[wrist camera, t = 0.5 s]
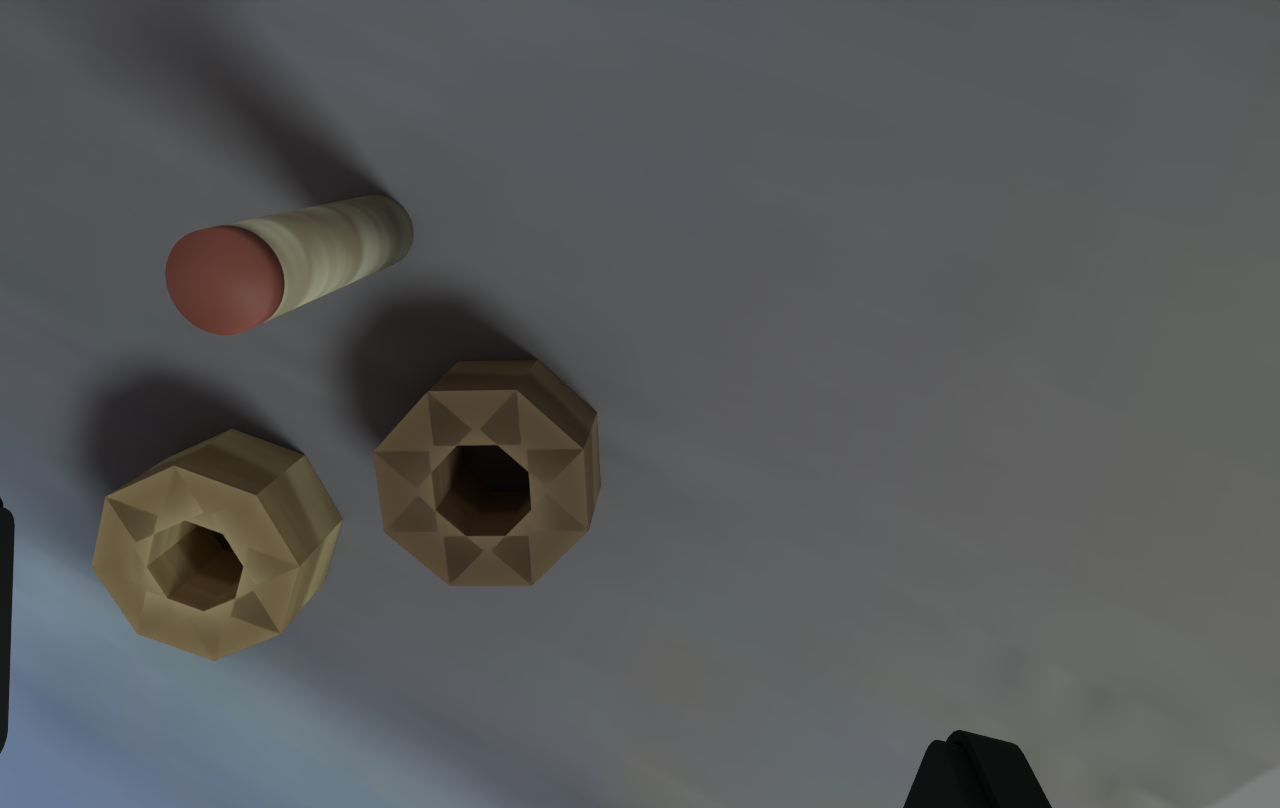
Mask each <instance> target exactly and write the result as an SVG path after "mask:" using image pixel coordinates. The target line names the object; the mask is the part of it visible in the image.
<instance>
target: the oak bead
mask: <svg viewBox="0 0 1280 808" xmlns="http://www.w3.org/2000/svg"><path fill="white" fill-rule="evenodd" d="M342 520H343V519H342V518H341V516H340V514H339V512H338V511H337V509H336V507H335V506H334V504H333V502H332V501H331V499H330V497H329V495H328V494H327V492H326V490H325V489H324V487H323V485H322V484H321V482H320V480H319V479H318V477H317V475H316V473H315V472H314V470H313V468H312V467H311V465H310V463H309V462H308V460H307V458H306V456H305V455H303V454H301V453H298V452H295V451H292V450H290V449H287V448H284V447H281V446H279V445H276V444H273V443H270V442H268V441H265V440H262V439H259V438H257V437H254V436H251V435H249V434H246V433H243V432H240V431H238V430H235V429H229V430H227V431H225V432H223V433H221V434H218V435H216V436H214V437H212V438H210V439H207V440H205V441H203V442H201V443H199V444H196V445H194V446H192V447H190V448H188V449H185V450H183V451H181V452H179V453H177V454H174V455H172V456H170V457H168V458H167V459H165V460H163V461H162V462H160V463H159V464H157V465H155V466H154V467H152V468H151V469H149V470H147V471H146V472H144V473H142V474H141V475H139V476H138V477H136V478H134V479H133V480H131V481H130V482H128V483H126V484H125V485H123V486H122V487H120V488H118V489H117V490H115V491H114V492H112V493H110V494H109V495H107V496H106V497H105V501H104V506H103V512H102V517H101V522H100V527H99V532H98V537H97V542H96V547H95V553H94V558H93V563H92V568H93V570H94V571H95V573H96V574H97V576H98V577H99V578H100V580H101V581H102V583H103V584H104V586H105V587H106V589H107V590H108V592H109V593H110V595H111V596H112V598H113V599H114V600H115V602H116V603H117V605H118V606H119V608H120V609H121V611H122V612H123V614H124V615H125V617H126V618H127V620H128V621H129V622H130V624H131V625H132V627H133V628H134V630H135V631H136V633H137V634H139V635H142V636H145V637H148V638H151V639H154V640H156V641H159V642H162V643H165V644H168V645H171V646H174V647H176V648H179V649H182V650H185V651H188V652H191V653H193V654H196V655H199V656H202V657H205V658H208V659H210V660H213V661H215V660H217V659H220V658H222V657H225V656H227V655H230V654H232V653H235V652H237V651H240V650H242V649H245V648H247V647H250V646H252V645H255V644H257V643H260V642H262V641H265V640H267V639H270V638H272V637H275V636H277V635H280V634H281V633H282V632H283V631H284V630H285V628H286V627H287V626H288V625H289V624H290V622H291V621H292V620H293V619H294V618H295V616H296V615H297V614H298V613H299V611H300V610H301V609H302V608H303V607H304V605H305V604H306V603H307V602H308V601H309V599H310V598H311V597H312V596H313V594H314V593H315V592H316V591H317V590H318V588H319V587H320V586H321V585H322V584H323V582H324V581H325V578H326V574H327V571H328V567H329V564H330V561H331V557H332V554H333V550H334V547H335V543H336V540H337V537H338V533H339V530H340V526H341V523H342ZM212 530H213V531H216V532H219V533H222V534H223V535H224V537H225V538H226V540H227V541H228V543H229V544H230V546H231V548H232V549H233V551H234V552H235V553H233V552H230V551H228V550H225V549H223V548H222V546H221V545H220V543H219V541H218V540H217V538H216V537H215V535H214V534H213V532H212Z"/></svg>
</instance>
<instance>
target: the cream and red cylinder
mask: <svg viewBox="0 0 1280 808" xmlns="http://www.w3.org/2000/svg"><path fill="white" fill-rule="evenodd" d="M412 241H413V226H412V222H411V219H410V217H409V215H408V213H407V212H406V210H405V209H404V208H403V207H402V206H401V205H400V204H399V203H398V202H397V201H395V200H393V199H392V198H389V197H387V196H384V195H379V194H372V195H366V196H361V197H356V198H351V199H347V200H342V201H337V202H332V203H327V204H322V205H318V206H313V207H308V208H303V209H298V210H293V211H289V212H284V213H279V214H274V215H269V216H264V217H260V218H255V219H250V220H245V221H240V222H235V223H231V224H226V225H221V226H216V227H211V228H206V229H202V230H197V231H194V232H192V233H189V234H187V235H186V236H184V237H183V238H182V239H180V240H179V241H178V242H177V243H176V245H175V246H174V247H173V249H172V250H171V252H170V254H169V257H168V260H167V264H166V284H167V288H168V292H169V294H170V297H171V299H172V301H173V303H174V304H175V306H176V307H177V309H178V310H179V311H180V313H181V314H182V315H183V316H184V317H185V318H186V319H187V320H188V321H190V322H191V323H192V324H194V325H195V326H197V327H198V328H200V329H202V330H205V331H207V332H210V333H214V334H219V335H232V334H237V333H241V332H243V331H246V330H248V329H250V328H253V327H255V326H257V325H259V324H261V323H264V322H266V321H268V320H270V319H273V318H275V317H277V316H279V315H281V314H284V313H286V312H288V311H290V310H293V309H295V308H297V307H299V306H302V305H304V304H306V303H308V302H310V301H313V300H315V299H317V298H319V297H322V296H324V295H326V294H328V293H330V292H333V291H335V290H337V289H339V288H342V287H344V286H346V285H348V284H350V283H353V282H355V281H357V280H359V279H362V278H364V277H366V276H368V275H370V274H373V273H375V272H377V271H379V270H382V269H384V268H386V267H388V266H391V265H393V264H395V263H397V262H399V261H400V260H401V259H403V258H404V257H405V256H406V254H407V253H408V251H409V250H410V248H411V245H412Z"/></svg>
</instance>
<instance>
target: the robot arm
mask: <svg viewBox="0 0 1280 808" xmlns="http://www.w3.org/2000/svg"><path fill="white" fill-rule="evenodd" d="M14 528H15V525H14V517H13V515H12V513H11V512H10V511H9V510H7V509H6V508H3V502H2V500H1V498H0V753H1V751H2V749H3V747H4V744H5V741H6V738H7V732H8V709H9V679H10V649H11V619H12V589H13V559H14ZM903 808H1052V807H1051V805H1050V803H1049V801H1048V799H1047V798H1046V796H1045V794H1044V792H1043V790H1042V788H1041V786H1040V784H1039V782H1038V780H1037V779H1036V777H1035V775H1034V773H1033V771H1032V769H1031V767H1030V765H1029V763H1028V762H1027V760H1026V758H1025V756H1024V754H1023V752H1022V751H1021V750H1020V748H1019V747H1018V746H1017V745H1015V744H1013V743H1010V742H1006V741H1002V740H998V739H994V738H990V737H986V736H982V735H978V734H974V733H970V732H966V731H962V730H957V731H954V732H953V733H952V734H951V735H950V736H949V737H948V739H947V741H946V742H944V741H940V740H935V741H933V742H932V743H931V744H930V745H929V746H928V748H927V750H926V752H925V755H924V757H923V760H922V762H921V765H920V767H919V770H918V772H917V775H916V777H915V780H914V782H913V785H912V787H911V790H910V792H909V795H908V797H907V800H906V802H905V804H904V807H903Z"/></svg>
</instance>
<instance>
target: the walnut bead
mask: <svg viewBox="0 0 1280 808" xmlns="http://www.w3.org/2000/svg"><path fill="white" fill-rule="evenodd" d="M462 445H498V446H499V447H500V448H501V449H503V450H504V451H505V452H506V453H507V454H508V455H510V456H511V457H512V458H513V459H514V460H515V461H516V462H518V463H519V464H520V465H521V466H522V467H523V468H525V469H526V470H527V471H528V472H529V484H530V488H529V489H528V490H527V491H491V490H490V489H488V488H487V487H486V486H485V485H484V484H483V483H481V482H480V481H479V480H478V479H477V478H476V477H474V476H473V475H472V474H471V473H470V472H469V471H467V470H466V469H465V467H464V457H463V447H462ZM373 453H374V460H375V468H376V475H377V483H378V490H379V498H380V505H381V513H382V520H383V528H384V532H385V533H386V534H387V535H389V536H390V537H391V538H392V539H393V540H395V541H396V542H397V543H398V544H399V545H401V546H402V547H403V548H404V549H405V550H407V551H408V552H409V553H410V554H412V555H413V556H414V557H415V558H416V559H418V560H419V561H420V562H421V563H422V564H424V565H425V566H426V567H427V568H428V569H430V570H431V571H432V572H433V573H435V574H436V575H437V576H438V577H439V578H441V579H442V580H443V581H444V582H445V583H447V584H448V585H449V586H532V585H533V584H534V583H535V582H536V581H537V580H538V579H539V578H540V577H541V576H542V575H543V574H545V573H546V572H547V571H548V570H549V569H550V568H551V567H552V566H553V565H554V564H555V563H556V562H557V561H558V560H559V559H560V558H561V557H562V556H563V555H564V554H565V553H566V552H567V551H568V550H569V549H570V548H571V547H572V546H573V545H574V544H575V543H576V542H577V541H578V540H579V539H580V538H581V537H582V536H583V535H584V534H585V533H586V532H587V531H588V530H589V527H590V523H591V519H592V516H593V512H594V509H595V505H596V501H597V498H598V494H599V490H600V487H601V483H600V464H599V445H598V426H597V412H596V411H594V410H593V409H592V408H591V407H590V406H589V405H588V404H587V403H586V402H584V401H583V400H582V399H581V398H580V397H579V396H578V395H577V394H576V393H574V392H573V391H572V390H571V389H570V388H569V387H568V386H567V385H565V384H564V383H563V382H562V381H561V380H560V379H559V378H558V377H557V376H555V375H554V374H553V373H552V372H551V371H550V370H549V369H548V368H547V367H545V366H544V365H543V364H542V363H541V362H540V361H539V360H538V359H534V360H483V361H458V362H457V363H456V364H455V365H454V366H453V367H452V368H451V369H450V370H449V371H448V372H447V373H446V374H445V375H444V376H443V377H442V378H441V379H440V380H438V381H437V382H436V383H435V384H434V385H433V386H432V387H431V388H430V389H429V390H428V391H427V392H426V394H425V395H424V396H423V397H422V398H421V399H420V400H419V401H418V402H417V404H416V405H415V406H414V407H413V408H412V409H411V410H410V411H409V413H408V414H407V415H406V416H405V417H404V418H403V419H402V420H401V421H400V423H399V424H398V425H397V426H396V427H395V428H394V429H393V430H392V432H391V433H390V434H389V435H388V436H387V437H386V438H385V439H384V440H383V442H382V443H381V444H380V445H379V446H378V447H377V448H376V449H375V451H374V452H373Z"/></svg>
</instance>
